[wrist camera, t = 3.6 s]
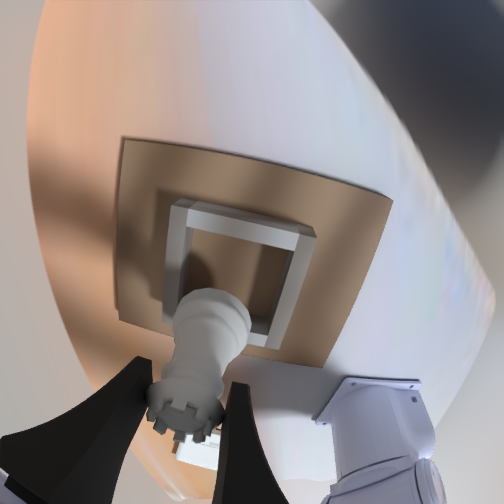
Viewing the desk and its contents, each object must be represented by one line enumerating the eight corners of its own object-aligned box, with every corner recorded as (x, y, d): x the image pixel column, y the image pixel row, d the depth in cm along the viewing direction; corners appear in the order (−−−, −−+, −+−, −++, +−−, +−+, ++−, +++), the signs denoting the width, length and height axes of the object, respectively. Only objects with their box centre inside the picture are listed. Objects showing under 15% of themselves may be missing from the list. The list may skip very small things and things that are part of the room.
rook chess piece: (164, 298, 16) (101, 392, 8) (231, 272, 15) (198, 375, 7) (200, 355, 17) (166, 456, 9) (264, 335, 16) (258, 448, 9)
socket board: (387, 197, 16) (406, 208, 13) (320, 359, 22) (324, 386, 19) (132, 139, 16) (108, 141, 13) (124, 313, 21) (108, 334, 19)
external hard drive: (176, 450, 32) (188, 415, 28) (228, 464, 33) (255, 433, 28) (174, 458, 31) (185, 426, 26) (227, 473, 31) (254, 444, 26)
